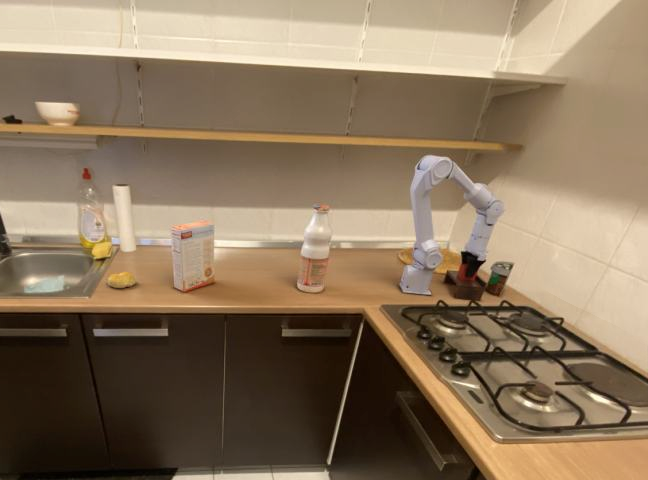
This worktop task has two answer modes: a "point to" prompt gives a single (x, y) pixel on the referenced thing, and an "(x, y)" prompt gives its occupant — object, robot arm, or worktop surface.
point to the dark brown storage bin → (466, 286)
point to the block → (462, 273)
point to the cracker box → (193, 255)
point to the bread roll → (121, 280)
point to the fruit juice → (315, 251)
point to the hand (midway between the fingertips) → (466, 274)
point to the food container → (499, 277)
